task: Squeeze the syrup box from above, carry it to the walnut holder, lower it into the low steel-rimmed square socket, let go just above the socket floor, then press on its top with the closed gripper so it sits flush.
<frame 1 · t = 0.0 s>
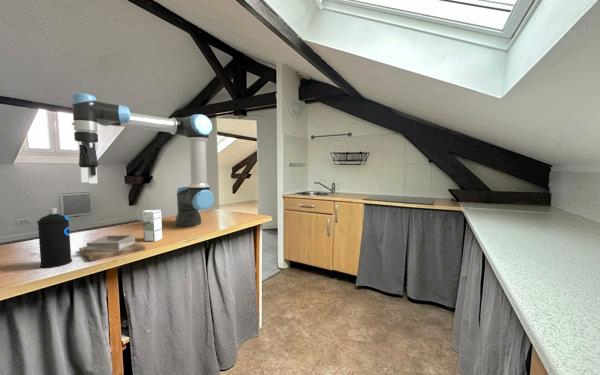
hand: (89, 182, 105), 28 cm above the table, tool pointing down, fingers open, 13 cm apart
syrup box: (153, 240, 118), on the table
socket holder: (112, 250, 103), on the table
aerosol can: (56, 264, 88), on the table
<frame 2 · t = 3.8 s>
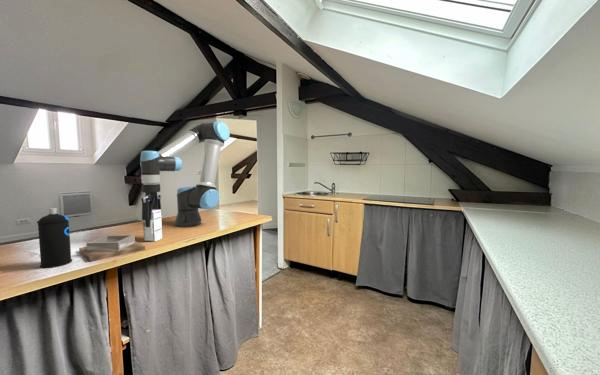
hand: (152, 231, 118), 4 cm above the table, tool pointing down, fingers closed on syrup box, 6 cm apart
syrup box: (153, 240, 118), on the table, touching gripper
everything else where it was.
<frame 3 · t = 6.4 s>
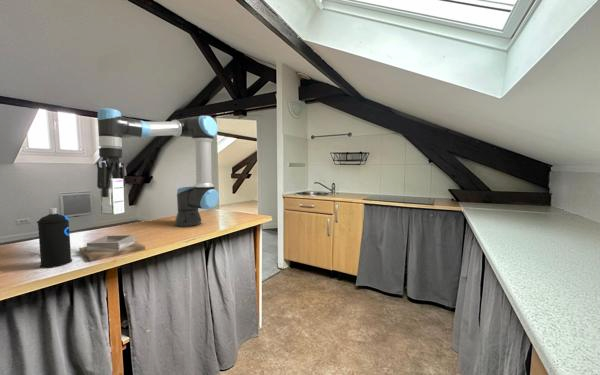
hand: (112, 203, 102), 20 cm above the table, tool pointing down, fingers closed on syrup box, 6 cm apart
syrup box: (113, 213, 102), point 15 cm above the table, touching gripper
everything else where it was.
when the fingers open (6 cm above the table, at t = 9.1 s): syrup box stays where it is, resting on socket holder.
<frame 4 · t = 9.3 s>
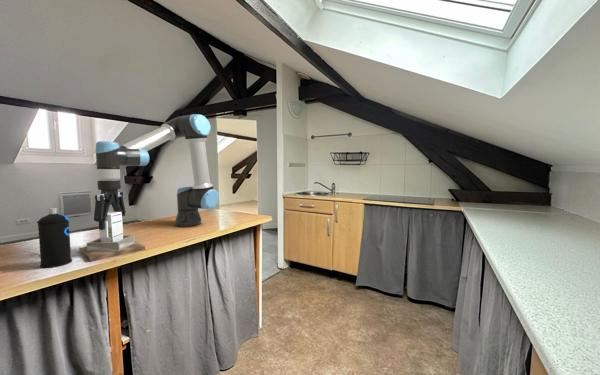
hand: (111, 234, 102), 7 cm above the table, tool pointing down, fingers open, 9 cm apart
syrup box: (112, 247, 102), point 1 cm above the table, touching socket holder
everything else where it was.
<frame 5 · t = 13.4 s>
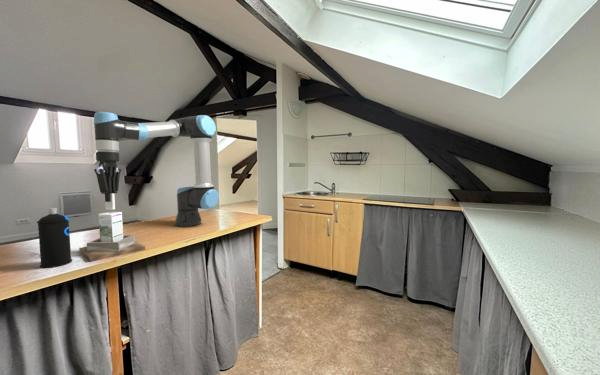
hand: (110, 209, 101), 17 cm above the table, tool pointing down, fingers closed
nothing on the table moved.
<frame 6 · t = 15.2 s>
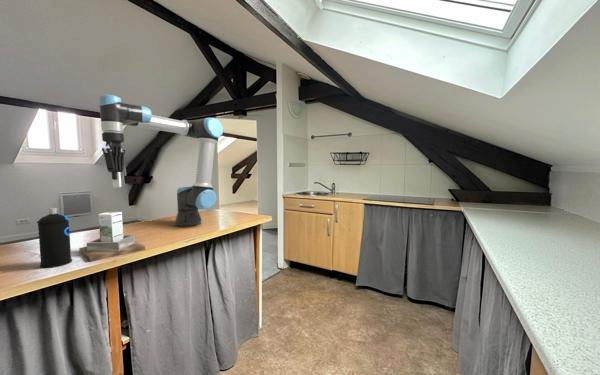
hand: (117, 186, 109), 26 cm above the table, tool pointing down, fingers closed
nothing on the table moved.
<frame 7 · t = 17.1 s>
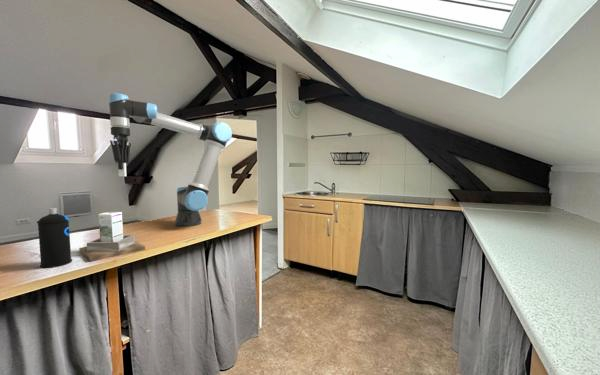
hand: (122, 176, 120), 30 cm above the table, tool pointing down, fingers closed
nothing on the table moved.
at the end: syrup box 0.1 cm off-centre on the socket holder, point 1.3 cm above the socket holder's base; syrup box tilted 0°; the gripper is holding nothing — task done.
